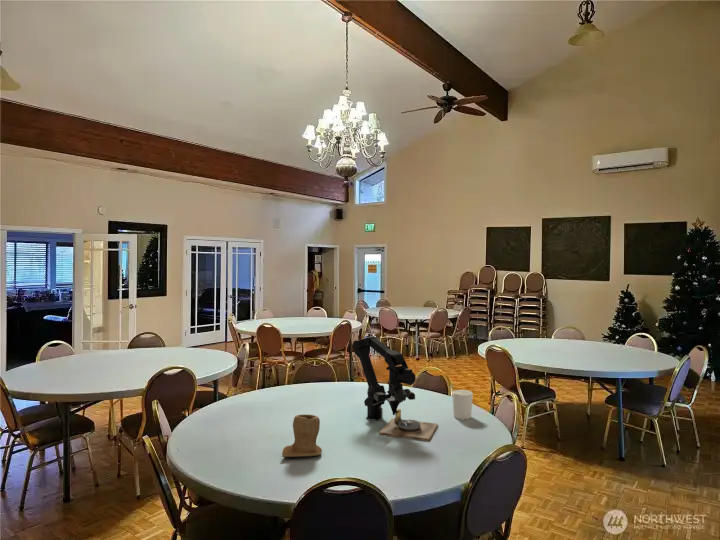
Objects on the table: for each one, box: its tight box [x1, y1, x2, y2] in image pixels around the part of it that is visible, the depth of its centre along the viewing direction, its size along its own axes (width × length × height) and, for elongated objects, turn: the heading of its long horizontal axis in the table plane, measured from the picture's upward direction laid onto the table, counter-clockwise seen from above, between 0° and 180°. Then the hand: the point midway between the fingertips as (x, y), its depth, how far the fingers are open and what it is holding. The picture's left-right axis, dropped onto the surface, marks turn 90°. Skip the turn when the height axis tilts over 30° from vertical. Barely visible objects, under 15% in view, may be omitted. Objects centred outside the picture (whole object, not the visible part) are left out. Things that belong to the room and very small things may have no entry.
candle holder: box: [451, 389, 474, 420], centre depth 225 cm, size 10×10×12 cm
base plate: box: [378, 418, 439, 442], centre depth 207 cm, size 22×20×1 cm
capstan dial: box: [393, 408, 421, 432], centre depth 208 cm, size 14×10×6 cm
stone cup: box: [281, 414, 323, 458], centre depth 180 cm, size 15×12×15 cm
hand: (393, 414), depth 212 cm, fingers closed
